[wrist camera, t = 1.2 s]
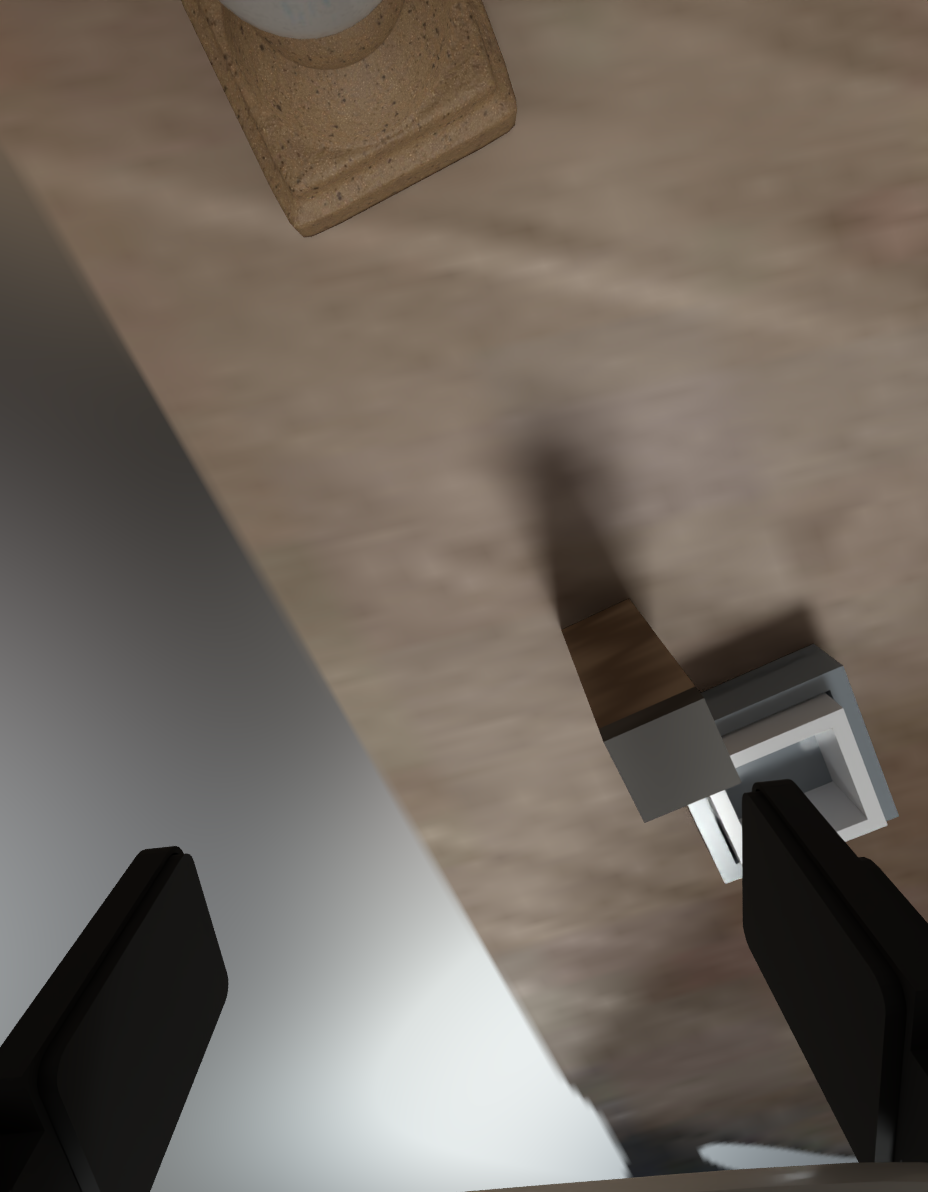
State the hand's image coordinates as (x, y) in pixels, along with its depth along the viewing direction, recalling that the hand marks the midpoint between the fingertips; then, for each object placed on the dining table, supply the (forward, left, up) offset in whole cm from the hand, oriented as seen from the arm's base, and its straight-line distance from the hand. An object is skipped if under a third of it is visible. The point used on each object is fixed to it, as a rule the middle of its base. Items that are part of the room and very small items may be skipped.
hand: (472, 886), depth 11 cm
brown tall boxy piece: (-4, +8, -25) cm, 27 cm away
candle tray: (-9, +18, -25) cm, 32 cm away
